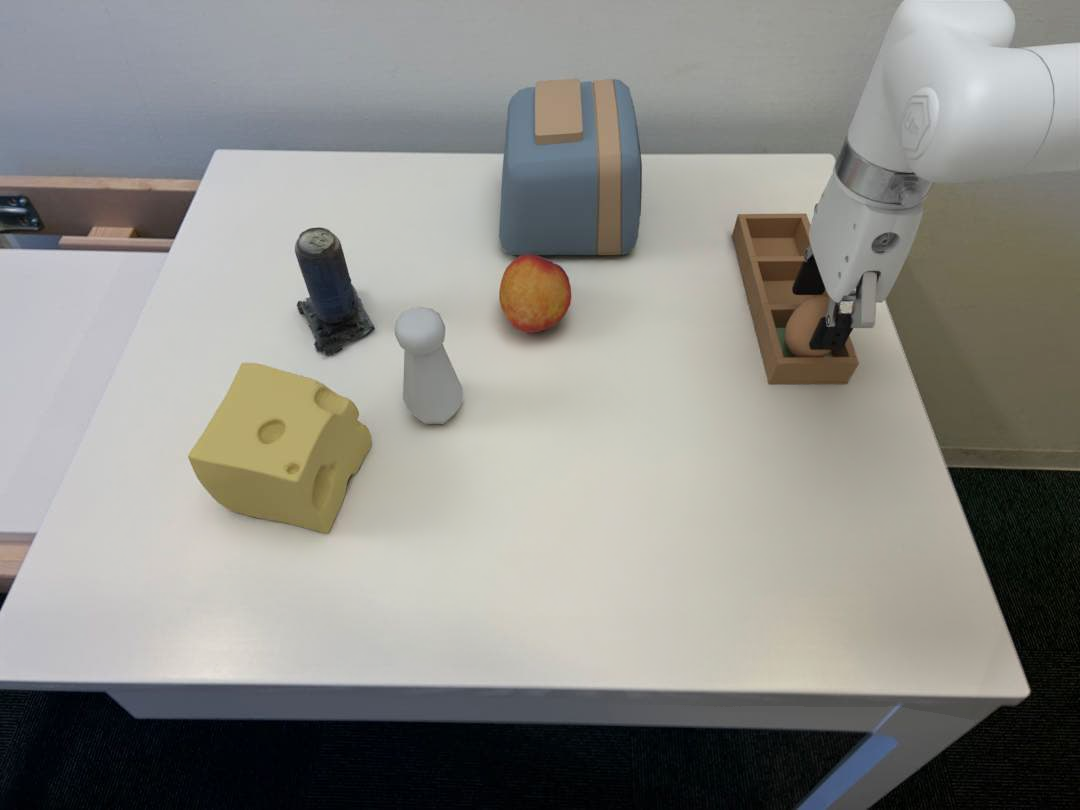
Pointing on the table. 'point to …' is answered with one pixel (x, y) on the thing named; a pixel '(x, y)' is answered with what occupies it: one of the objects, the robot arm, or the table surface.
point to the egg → (806, 327)
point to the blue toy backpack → (571, 170)
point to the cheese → (281, 448)
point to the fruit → (534, 293)
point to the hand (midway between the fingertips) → (816, 318)
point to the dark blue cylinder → (329, 291)
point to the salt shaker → (427, 367)
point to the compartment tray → (782, 297)
